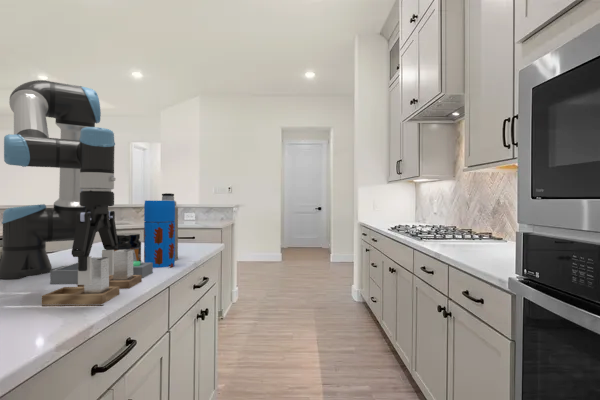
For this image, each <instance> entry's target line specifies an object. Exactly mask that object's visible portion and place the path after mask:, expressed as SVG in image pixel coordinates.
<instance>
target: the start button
mask: <svg viewBox="0 0 600 400" xmlns="http://www.w3.org/2000/svg"><path fill="white" fill-rule="evenodd" d="M133 266H140V261H133Z"/></svg>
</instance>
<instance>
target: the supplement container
mask: <svg viewBox="0 0 600 400" xmlns="http://www.w3.org/2000/svg"><path fill="white" fill-rule="evenodd" d="M117 239H118V249H113V250H114V251H117V250H128V249H132V250H133V261H140V263H142V241H141V234H140V233H139V232H124V233H123V232H122V233H117Z"/></svg>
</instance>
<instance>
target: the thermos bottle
mask: <svg viewBox="0 0 600 400" xmlns="http://www.w3.org/2000/svg"><path fill="white" fill-rule="evenodd" d="M160 201H175V261H178V260H179V257H178V256H179V252H178V251H179V207H178V206H177V204H178V203H177V201H176V200H175V193H168V192H166V193H161V200H160ZM177 259H178V260H177Z"/></svg>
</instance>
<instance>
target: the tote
mask: <svg viewBox="0 0 600 400" xmlns="http://www.w3.org/2000/svg"><path fill="white" fill-rule="evenodd" d="M49 273H50V276H49V277H50V283H49V284H50V285H77V282H78V262H74V263H71V264H68V265H65V266H62V267H58V268H56V269H52V270H51V271H50V272H49Z"/></svg>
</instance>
